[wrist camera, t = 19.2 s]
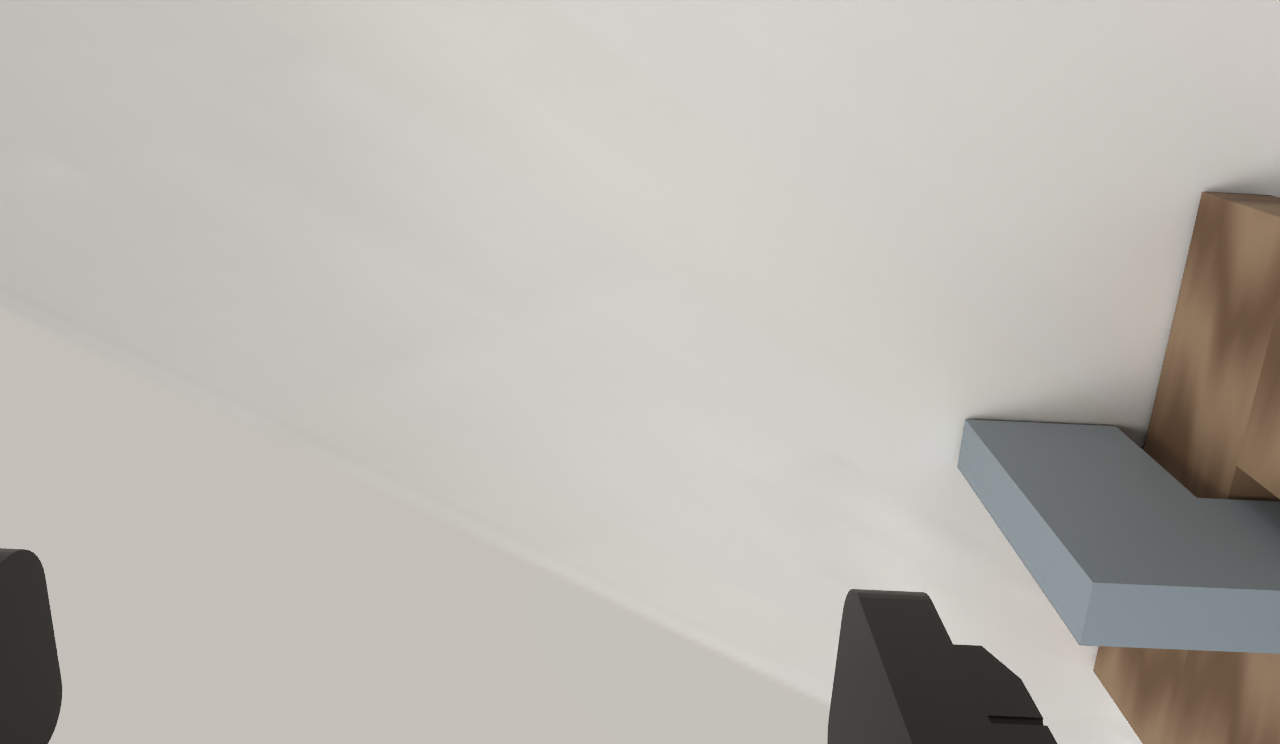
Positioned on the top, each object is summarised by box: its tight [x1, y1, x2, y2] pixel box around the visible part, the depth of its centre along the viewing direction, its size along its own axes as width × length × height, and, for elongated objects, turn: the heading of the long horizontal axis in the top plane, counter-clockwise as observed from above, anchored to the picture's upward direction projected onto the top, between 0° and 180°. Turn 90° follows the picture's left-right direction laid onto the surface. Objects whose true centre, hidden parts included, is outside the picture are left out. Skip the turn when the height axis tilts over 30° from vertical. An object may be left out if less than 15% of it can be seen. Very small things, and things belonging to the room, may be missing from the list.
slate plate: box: [958, 419, 1280, 654], centre depth 35 cm, size 2×16×12 cm, turn 87°
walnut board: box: [1093, 192, 1280, 744], centre depth 35 cm, size 20×2×12 cm, turn 177°
